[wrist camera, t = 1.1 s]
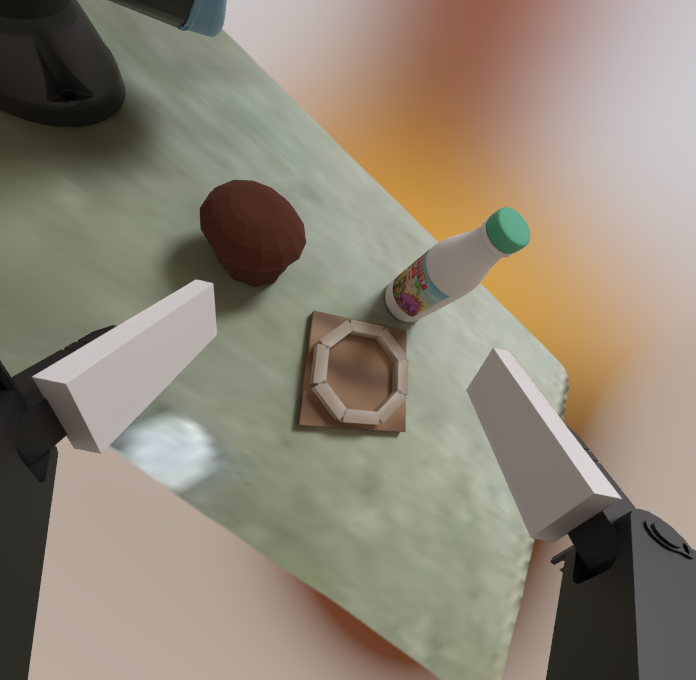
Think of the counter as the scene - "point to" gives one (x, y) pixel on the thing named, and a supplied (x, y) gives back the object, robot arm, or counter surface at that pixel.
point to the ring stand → (354, 375)
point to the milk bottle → (455, 266)
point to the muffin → (252, 231)
